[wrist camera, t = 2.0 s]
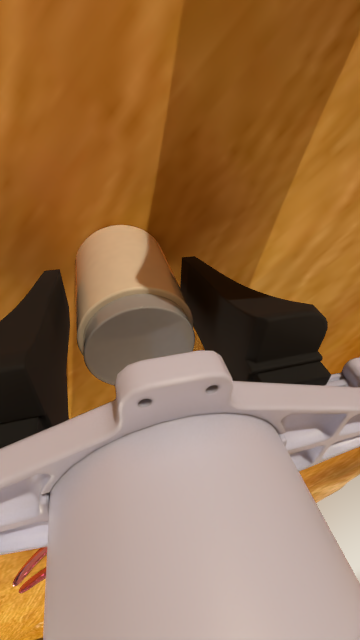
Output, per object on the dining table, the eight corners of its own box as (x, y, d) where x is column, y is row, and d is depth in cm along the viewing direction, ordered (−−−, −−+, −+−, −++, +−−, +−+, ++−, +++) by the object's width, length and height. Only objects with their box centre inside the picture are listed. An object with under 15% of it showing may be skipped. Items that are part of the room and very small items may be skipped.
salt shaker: (164, 296, 17) (195, 379, 13) (83, 306, 16) (88, 400, 12) (164, 221, 14) (205, 294, 10) (66, 227, 13) (64, 312, 9)
